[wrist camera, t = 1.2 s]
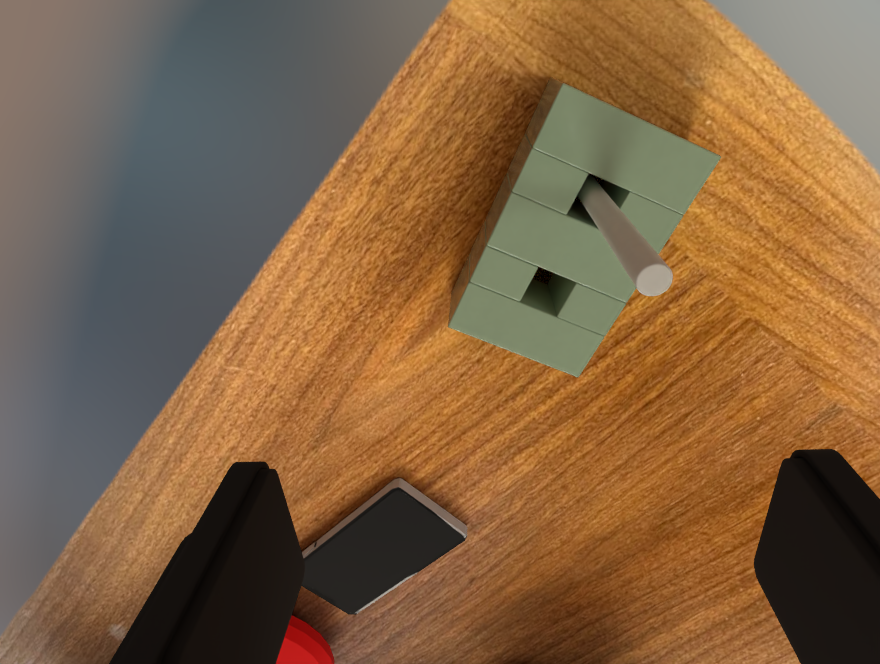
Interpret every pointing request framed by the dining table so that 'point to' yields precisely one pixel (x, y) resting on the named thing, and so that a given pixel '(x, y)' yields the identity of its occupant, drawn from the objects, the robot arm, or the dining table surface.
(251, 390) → the dining table surface
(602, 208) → the grey cylindrical rod
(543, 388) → the dining table surface
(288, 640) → the red disc with nozzle
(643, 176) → the pen holder
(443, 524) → the smartphone
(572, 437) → the dining table surface
